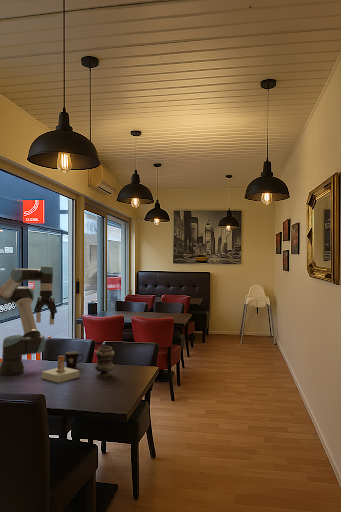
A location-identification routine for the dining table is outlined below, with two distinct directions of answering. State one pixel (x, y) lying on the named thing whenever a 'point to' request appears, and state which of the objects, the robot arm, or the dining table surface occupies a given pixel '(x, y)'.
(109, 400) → the dining table surface
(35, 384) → the dining table surface
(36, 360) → the dining table surface
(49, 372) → the socket block
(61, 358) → the peg
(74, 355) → the coffee mug
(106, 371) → the apothecary jar
